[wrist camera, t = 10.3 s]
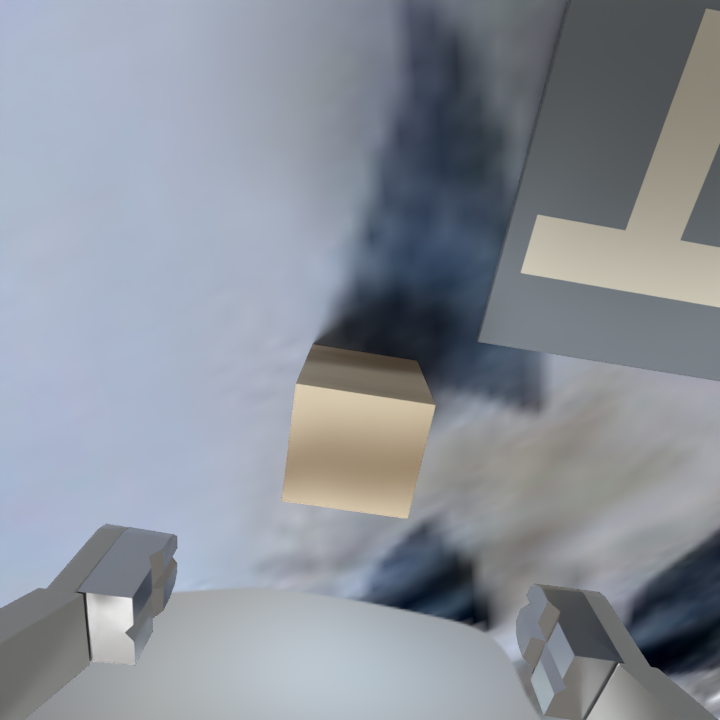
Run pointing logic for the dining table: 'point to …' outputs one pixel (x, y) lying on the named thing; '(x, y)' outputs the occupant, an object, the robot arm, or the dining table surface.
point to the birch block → (357, 432)
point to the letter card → (620, 195)
